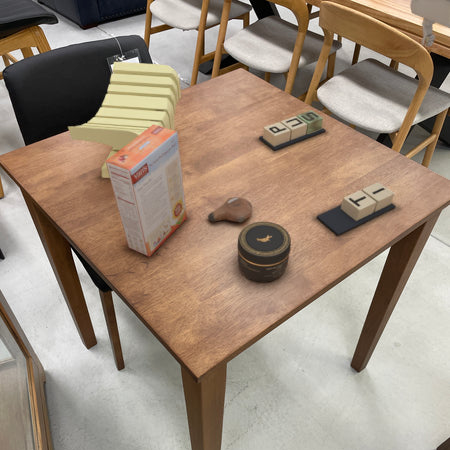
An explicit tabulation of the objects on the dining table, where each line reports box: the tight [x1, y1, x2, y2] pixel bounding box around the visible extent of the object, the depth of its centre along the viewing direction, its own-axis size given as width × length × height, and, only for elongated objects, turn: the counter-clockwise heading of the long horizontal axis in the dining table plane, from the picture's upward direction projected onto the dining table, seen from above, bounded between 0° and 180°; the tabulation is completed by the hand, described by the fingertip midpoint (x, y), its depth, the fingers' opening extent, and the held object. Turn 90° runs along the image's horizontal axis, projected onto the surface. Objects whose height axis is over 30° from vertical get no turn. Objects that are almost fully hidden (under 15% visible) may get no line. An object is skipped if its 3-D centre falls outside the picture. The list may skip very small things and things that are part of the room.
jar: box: [236, 221, 292, 283], centre depth 84 cm, size 10×10×8 cm
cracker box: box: [105, 124, 188, 257], centre depth 85 cm, size 14×6×21 cm, turn 149°
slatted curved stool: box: [67, 61, 182, 179], centre depth 102 cm, size 30×16×18 cm, turn 172°
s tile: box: [296, 110, 324, 134], centre depth 117 cm, size 5×5×3 cm
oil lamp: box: [207, 196, 253, 223], centre depth 95 cm, size 9×4×8 cm
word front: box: [315, 181, 396, 237], centre depth 95 cm, size 17×7×4 cm, turn 123°
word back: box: [258, 115, 326, 152], centre depth 116 cm, size 17×7×4 cm, turn 123°
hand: (445, 53), depth 85 cm, fingers open, 8 cm apart
